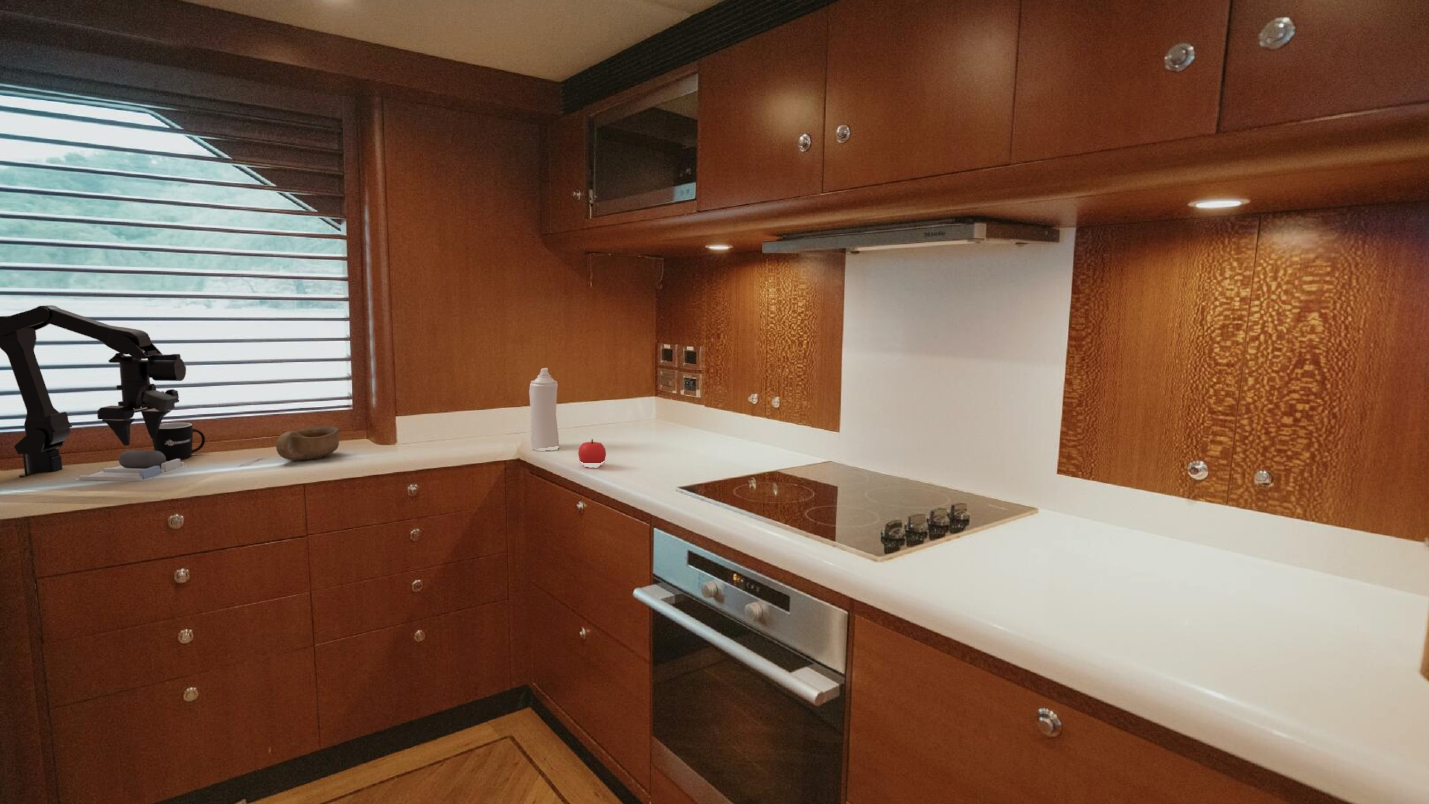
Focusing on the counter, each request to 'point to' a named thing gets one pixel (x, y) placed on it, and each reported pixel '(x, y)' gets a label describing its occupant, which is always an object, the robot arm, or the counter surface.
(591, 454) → the apple
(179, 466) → the board
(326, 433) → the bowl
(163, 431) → the mug
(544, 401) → the spray can
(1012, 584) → the counter surface
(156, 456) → the grey capsule
